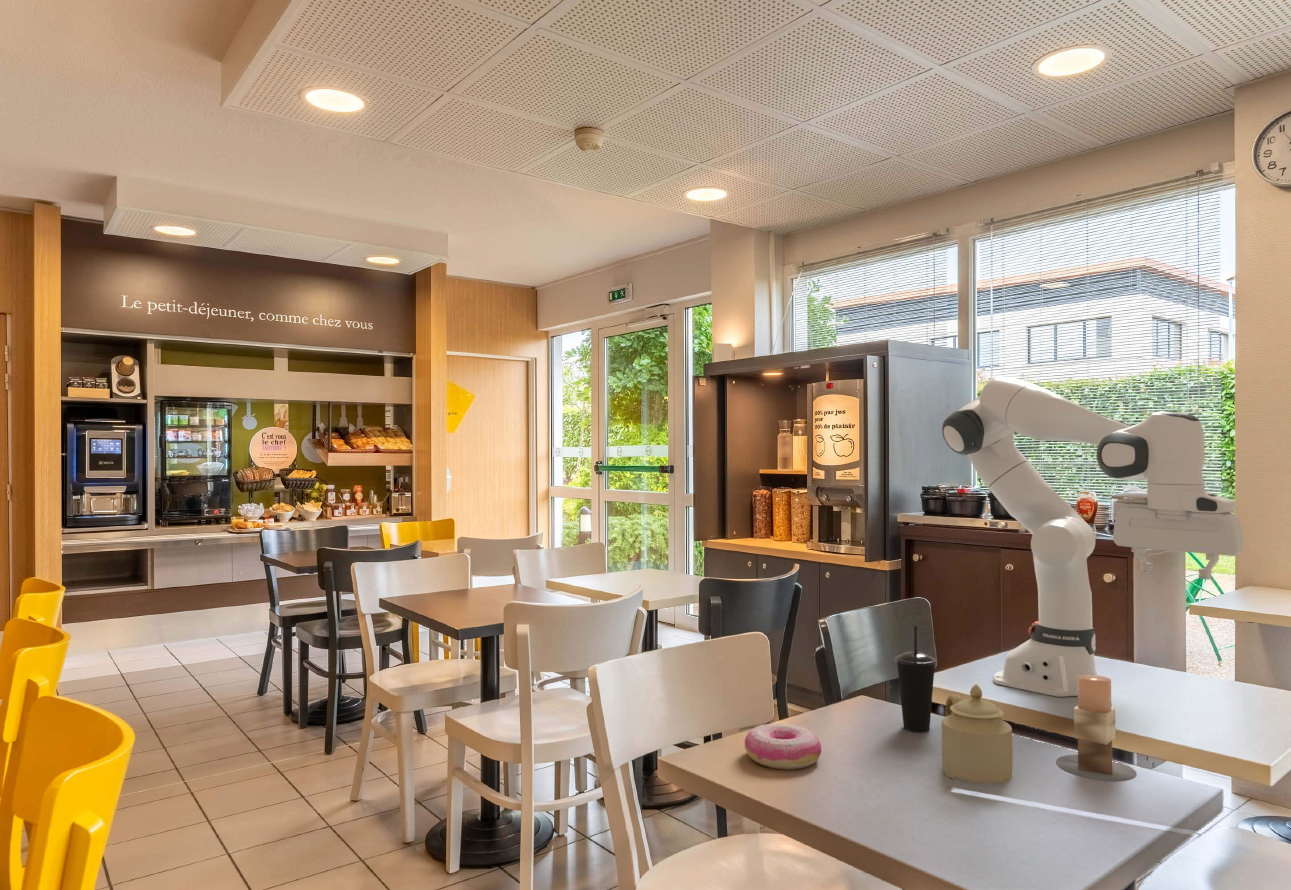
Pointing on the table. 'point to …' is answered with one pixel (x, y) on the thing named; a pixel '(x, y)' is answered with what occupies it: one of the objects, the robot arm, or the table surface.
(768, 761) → the donut
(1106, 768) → the walnut cube
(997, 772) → the sugar bowl
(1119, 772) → the slate coaster
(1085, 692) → the terracotta cylinder
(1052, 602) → the robot arm
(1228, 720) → the table surface
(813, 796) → the table surface
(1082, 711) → the beech cube
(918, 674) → the drinking cup
